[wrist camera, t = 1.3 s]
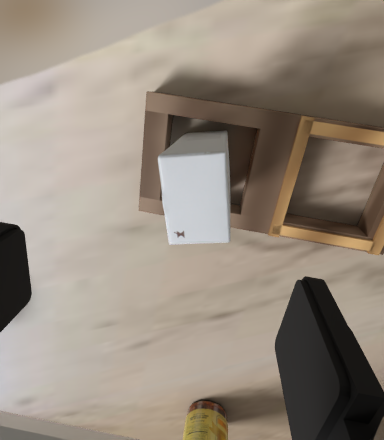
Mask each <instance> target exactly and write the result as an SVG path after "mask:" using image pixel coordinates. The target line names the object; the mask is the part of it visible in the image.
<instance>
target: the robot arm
mask: <svg viewBox="0 0 384 440" xmlns="http://www.w3.org/2000/svg"><path fill="white" fill-rule="evenodd" d="M30 298H31V284H30V275H29V267H28V258H27V250H26V242H25V234H24V232H23V231H22V230H21V229H20V227H19V226H18V225H14V224H8V223H3V222H0V332H1V331H2V330H3V329H4V328H5V327H6V326H7V325H8V324H9V323H10V322H11V321H12V319H13V318H14V317H15V316H16V315H17V314H18V313H19V312H20V311H21V310H22V309H23V308H24V307H25V306H26V305H27V303H28V302H29V300H30ZM275 352H276V357H277V362H278V368H279V373H280V378H281V384H282V389H283V394H284V399H285V405H286V410H287V415H288V420H289V426H290V431H291V436H292V440H384V391H383V389H382V387H381V385H380V383H379V382H378V380H377V378H376V376H375V374H374V372H373V370H372V368H371V366H370V364H369V363H368V361H367V359H366V357H365V355H364V353H363V351H362V349H361V347H360V345H359V344H358V342H357V340H356V338H355V336H354V334H353V332H352V331H351V329H350V328H349V327H348V325H347V323H346V321H345V319H344V317H343V315H342V314H341V312H340V310H339V308H338V306H337V304H336V302H335V300H334V298H333V296H332V294H331V292H330V291H329V289H328V287H327V285H326V283H325V281H324V280H322V279H317V278H311V277H306V276H305V277H304V278H303V279H302V280H297V282H296V284H295V287H294V289H293V292H292V295H291V298H290V301H289V303H288V306H287V309H286V312H285V315H284V317H283V320H282V323H281V326H280V329H279V331H278V334H277V337H276V340H275ZM0 440H139V439H134V438H129V437H125V436H120V435H115V434H110V433H105V432H100V431H96V430H91V429H86V428H81V427H76V426H71V425H67V424H62V423H57V422H52V421H47V420H42V419H37V418H33V417H28V416H23V415H18V414H13V413H8V412H3V411H0Z"/></svg>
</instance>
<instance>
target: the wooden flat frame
mask: <svg viewBox="0 0 384 440" xmlns="http://www.w3.org/2000/svg"><path fill="white" fill-rule="evenodd" d="M173 115H177V116H183V117H189V118H196V119H202V120H208V121H214V122H221V123H227V124H233V125H240V126H246V127H252V128H257V133H256V137H255V141H254V146H253V150H252V155H251V159H250V164H249V168H248V173H247V177H246V181H245V186H244V190H243V195H242V199H241V204H240V205H234V204H230V227H232V228H237V229H243V230H249V231H254V232H260V233H265V234H268V235H269V236H275V237H279V236H282V237H287V238H293V239H299V240H304V241H310V242H315V243H321V244H326V245H332V246H338V247H343V248H349V249H354V250H360V251H365V252H368V253H369V254H375V255H379V254H382V255H383V253H384V164H383V166H382V168H381V171H380V173H379V175H378V178H377V180H376V182H375V185H374V187H373V190H372V192H371V194H370V197H369V199H368V201H367V204H366V206H365V209H364V211H363V213H362V216H361V218H360V220H359V223H358V225H357V226H354V225H349V224H343V223H337V222H331V221H326V220H320V219H314V218H309V217H303V216H297V215H292V214H286V212H287V208H288V205H289V202H290V198H291V195H292V192H293V188H294V185H295V182H296V178H297V175H298V172H299V168H300V165H301V162H302V159H303V155H304V152H305V149H306V145H307V142H308V139H309V137H315V138H321V139H327V140H333V141H340V142H346V143H352V144H359V145H365V146H371V147H377V148H384V128H383V127H377V126H370V125H364V124H357V123H351V122H344V121H338V120H332V119H325V118H319V117H312V116H306V115H299V114H293V113H287V112H280V111H274V110H267V109H261V108H255V107H248V106H242V105H235V104H229V103H222V102H216V101H210V100H203V99H197V98H190V97H184V96H177V95H171V94H165V93H158V92H147V94H146V109H145V124H144V139H143V154H142V169H141V183H140V198H139V211H143V212H148V213H154V214H159V215H165V214H164V209H163V203H162V188H161V181H160V173H159V165H158V156H159V155H160V154H161V153H163V152H164V151H165V150H166V149H168V148H169V147H170V139H171V129H172V120H173Z"/></svg>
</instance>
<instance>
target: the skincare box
mask: <svg viewBox="0 0 384 440" xmlns="http://www.w3.org/2000/svg"><path fill="white" fill-rule="evenodd" d="M158 165H159V173H160V181H161V188H162V203H163V209H164V214H165V220H166V227H167V234H168V241H169V244H170V245H176V244H196V243H226V242H230V166H229V149H228V131H226V130H225V131H210V132H194V133H185V134H184V135H183V136H182V137H180V138H179V139H178V140H177V141H176V142H175V143H173V144H172V145H171V146H170V147H169V148H168V149H166V150H165V151H164V152H163V153H161V154H160V155H159V156H158Z"/></svg>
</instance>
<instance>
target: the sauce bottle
mask: <svg viewBox="0 0 384 440" xmlns="http://www.w3.org/2000/svg"><path fill="white" fill-rule="evenodd" d="M183 440H228V423H227V415H226V413H225V411H224V409H223V408H222V407H221V406H220V405H219V404H217V403H214V402H210V401H199V402H198V401H197V402H195V403H193V404H192V405H191V406H190V408H189V410H188V414H187V417H186V421H185V428H184V435H183Z"/></svg>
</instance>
